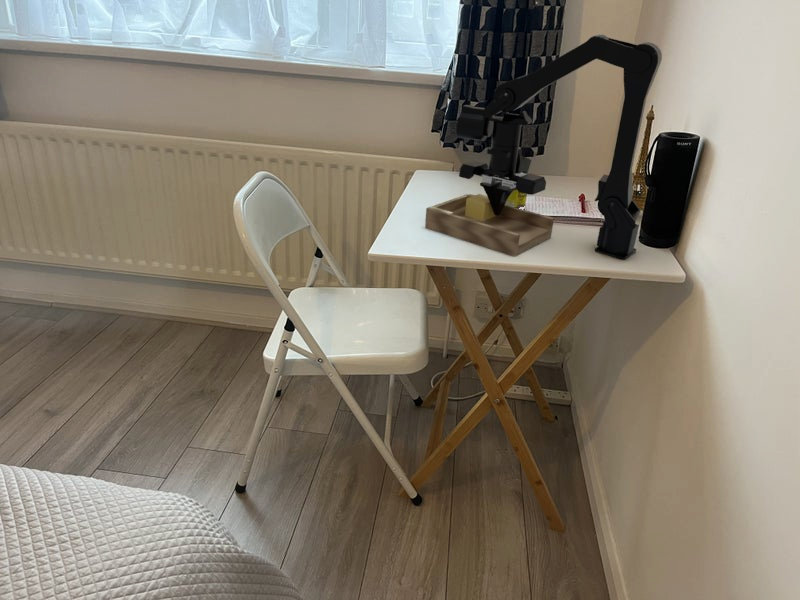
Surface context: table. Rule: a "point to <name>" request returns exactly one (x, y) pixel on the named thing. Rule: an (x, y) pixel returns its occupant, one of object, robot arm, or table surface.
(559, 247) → the table surface
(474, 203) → the block
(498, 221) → the wooden tray
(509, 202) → the supplement bottle
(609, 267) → the table surface
